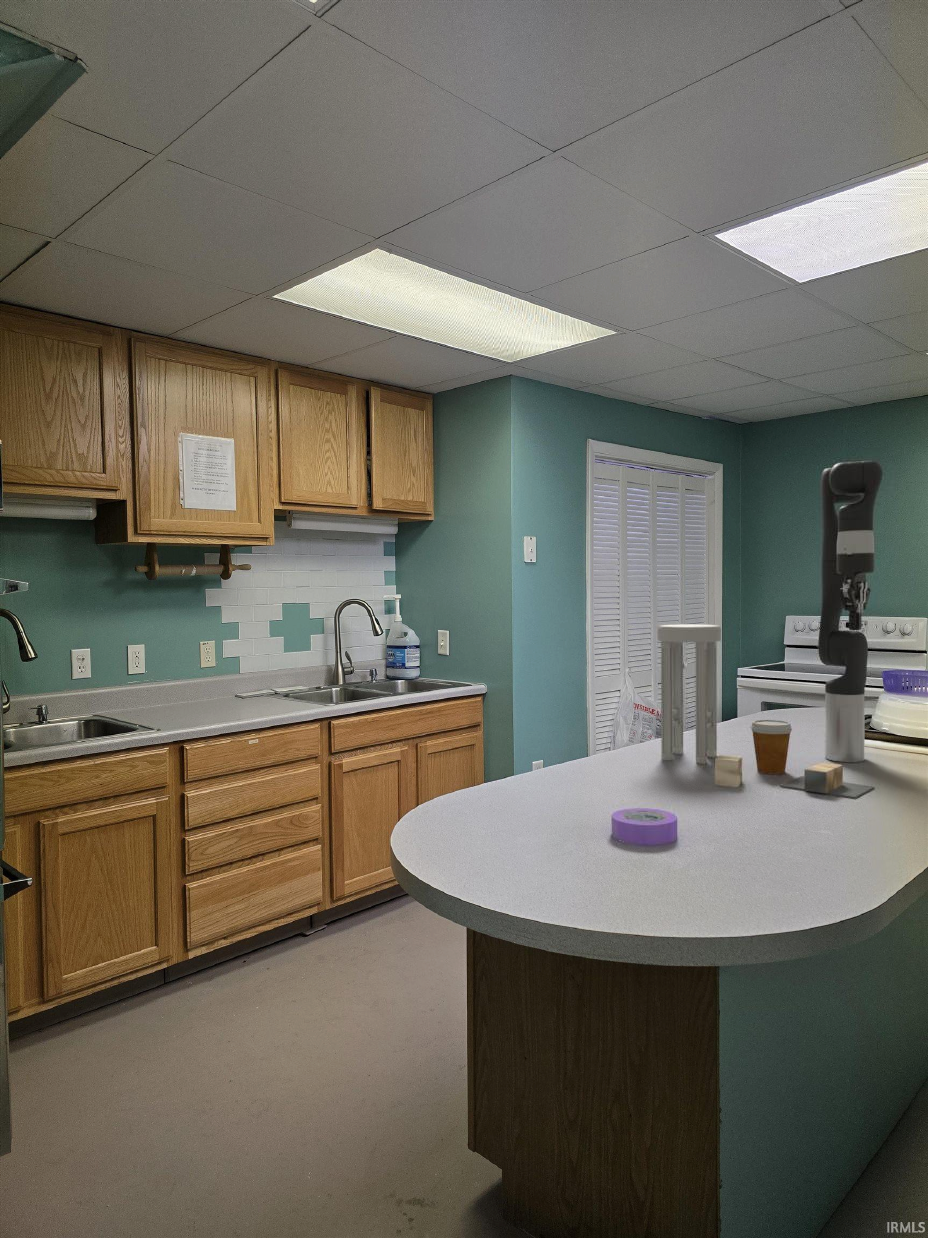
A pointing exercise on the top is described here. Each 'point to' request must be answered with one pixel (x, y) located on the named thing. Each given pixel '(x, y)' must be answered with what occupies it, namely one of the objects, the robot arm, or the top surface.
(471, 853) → the top surface
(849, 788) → the mat
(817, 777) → the oak block
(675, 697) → the stool
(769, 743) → the disposable coffee cup
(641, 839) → the masking tape
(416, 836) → the top surface
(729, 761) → the maple block
